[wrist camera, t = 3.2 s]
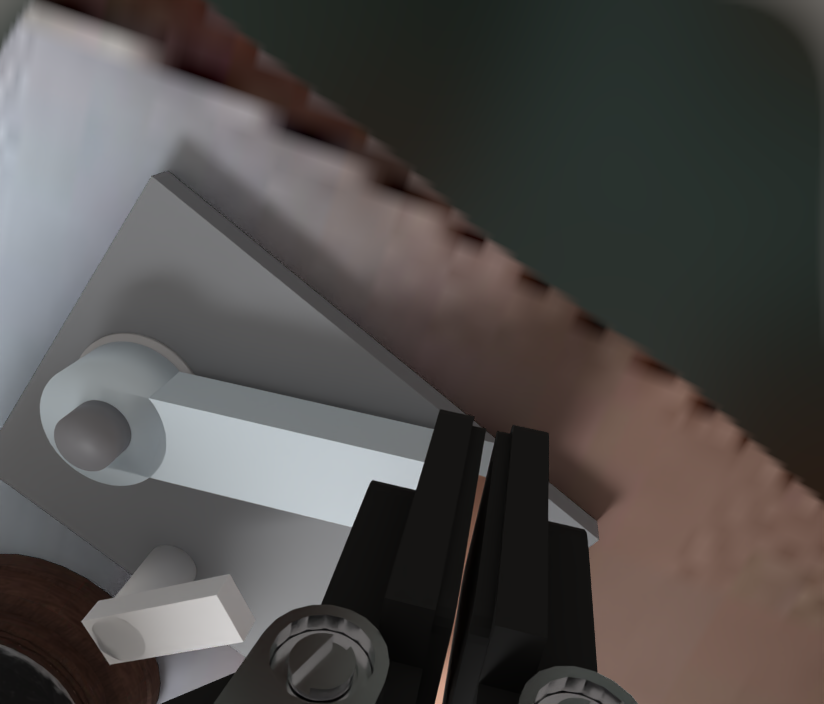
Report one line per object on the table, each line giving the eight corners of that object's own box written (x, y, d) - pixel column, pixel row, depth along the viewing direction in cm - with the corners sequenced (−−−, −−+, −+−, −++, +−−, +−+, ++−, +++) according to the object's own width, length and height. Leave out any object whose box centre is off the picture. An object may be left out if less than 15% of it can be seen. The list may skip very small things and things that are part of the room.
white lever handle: (80, 439, 25) (-107, 593, 18) (74, 329, 24) (-137, 451, 16) (505, 541, 24) (485, 756, 17) (534, 432, 22) (525, 618, 15)
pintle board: (-2, 451, 28) (-103, 524, 24) (168, 170, 22) (74, 199, 18) (355, 712, 30) (322, 822, 26) (597, 521, 24) (606, 623, 20)
